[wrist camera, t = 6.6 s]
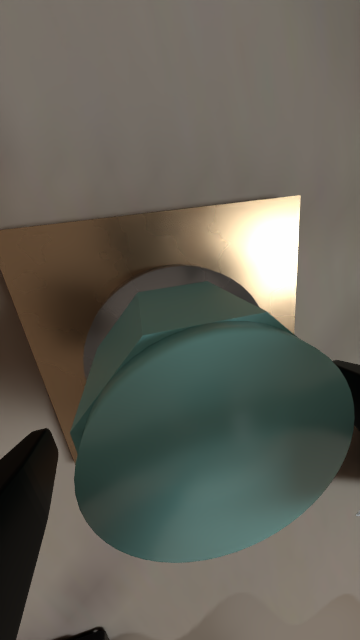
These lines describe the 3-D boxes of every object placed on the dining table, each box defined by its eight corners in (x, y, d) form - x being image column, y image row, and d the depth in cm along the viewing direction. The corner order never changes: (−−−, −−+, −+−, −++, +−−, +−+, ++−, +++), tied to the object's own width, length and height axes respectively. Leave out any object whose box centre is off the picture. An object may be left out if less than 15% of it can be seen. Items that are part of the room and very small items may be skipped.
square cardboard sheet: (279, 409, 15) (348, 487, 10) (84, 460, 13) (57, 583, 8) (285, 199, 11) (406, 165, 6) (1, 232, 9) (-143, 222, 4)
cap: (254, 405, 11) (338, 516, 7) (121, 438, 11) (113, 594, 6) (252, 273, 9) (375, 305, 5) (84, 300, 8) (24, 374, 4)
